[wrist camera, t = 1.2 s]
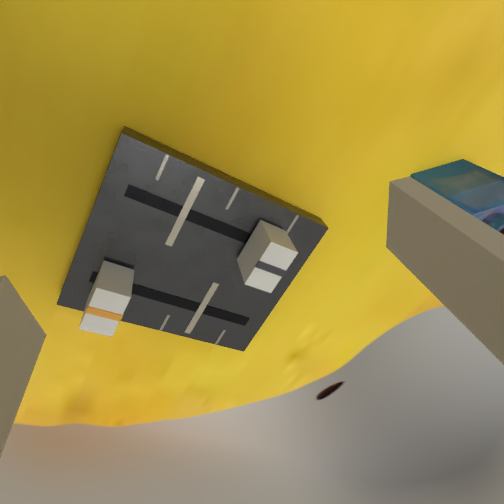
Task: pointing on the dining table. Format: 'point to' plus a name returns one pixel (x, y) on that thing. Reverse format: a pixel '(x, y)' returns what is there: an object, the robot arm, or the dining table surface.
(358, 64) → the dining table surface
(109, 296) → the fader
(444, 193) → the perfume bottle
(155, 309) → the console
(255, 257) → the fader
